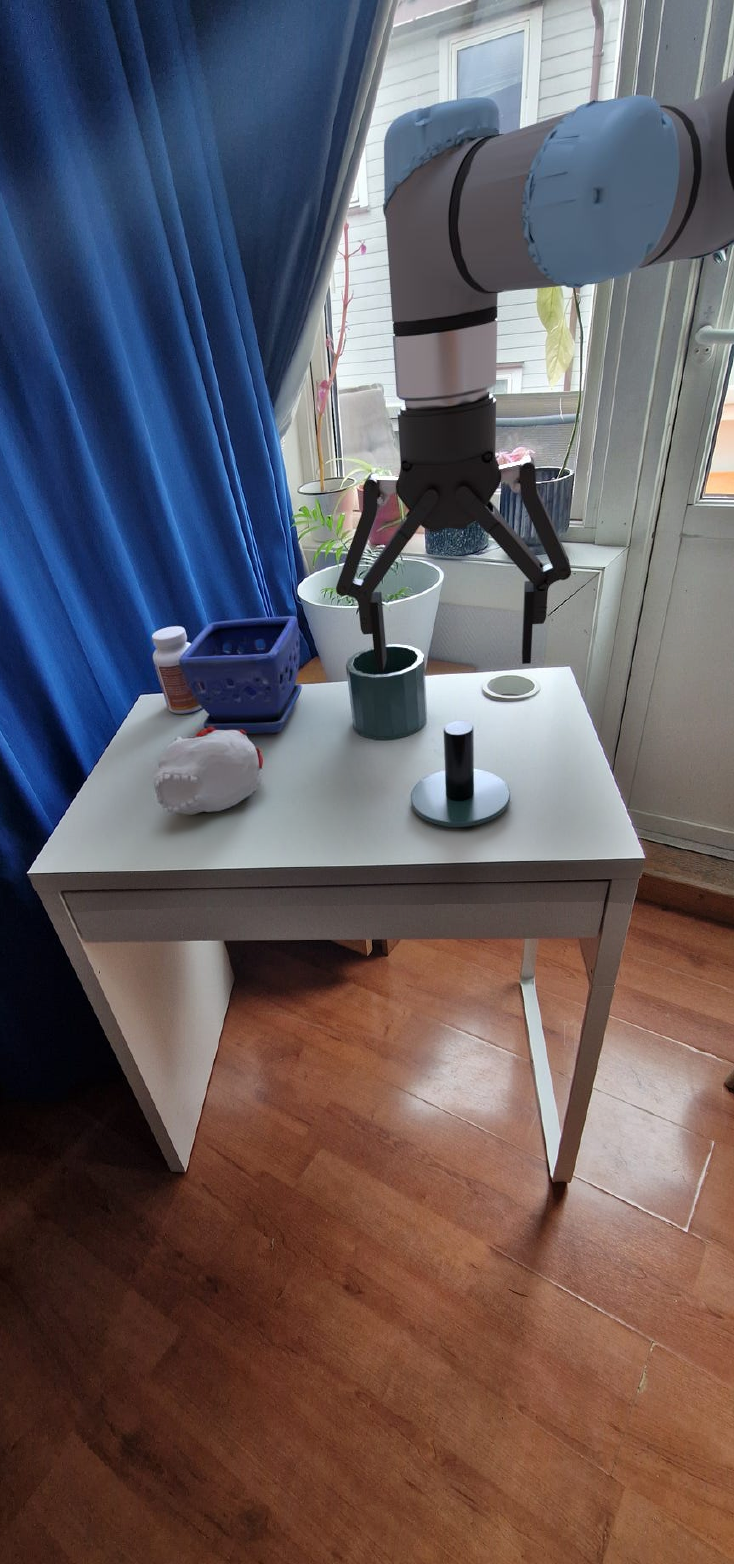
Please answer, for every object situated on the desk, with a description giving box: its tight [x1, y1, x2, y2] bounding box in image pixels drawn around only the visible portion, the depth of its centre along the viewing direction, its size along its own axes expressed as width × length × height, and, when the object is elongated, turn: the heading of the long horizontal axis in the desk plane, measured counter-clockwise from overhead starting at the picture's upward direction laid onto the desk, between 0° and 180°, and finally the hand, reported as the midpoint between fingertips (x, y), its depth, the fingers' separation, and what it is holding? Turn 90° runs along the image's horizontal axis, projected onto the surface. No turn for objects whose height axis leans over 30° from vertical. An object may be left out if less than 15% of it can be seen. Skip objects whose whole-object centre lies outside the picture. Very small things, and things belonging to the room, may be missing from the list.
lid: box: [410, 720, 511, 828], centre depth 77 cm, size 11×11×9 cm
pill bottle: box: [151, 625, 203, 715], centre depth 105 cm, size 6×6×11 cm
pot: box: [345, 643, 428, 741], centre depth 93 cm, size 10×10×8 cm
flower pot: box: [179, 615, 303, 734], centre depth 98 cm, size 13×13×12 cm
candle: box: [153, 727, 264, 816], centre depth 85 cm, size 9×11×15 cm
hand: (452, 661), depth 69 cm, fingers open, 13 cm apart
